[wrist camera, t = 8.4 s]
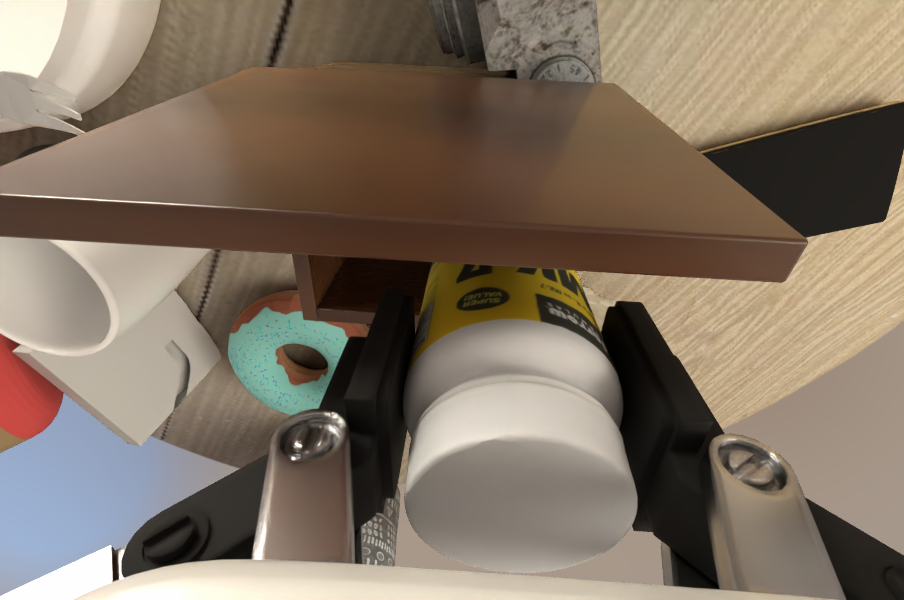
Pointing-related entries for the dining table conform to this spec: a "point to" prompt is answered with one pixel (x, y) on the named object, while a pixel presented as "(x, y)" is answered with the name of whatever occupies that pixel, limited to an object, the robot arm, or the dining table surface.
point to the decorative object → (23, 398)
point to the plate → (74, 46)
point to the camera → (523, 36)
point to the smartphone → (822, 169)
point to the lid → (404, 178)
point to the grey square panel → (135, 371)
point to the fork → (34, 102)
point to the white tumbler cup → (83, 290)
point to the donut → (266, 362)
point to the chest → (364, 279)
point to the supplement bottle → (514, 422)
